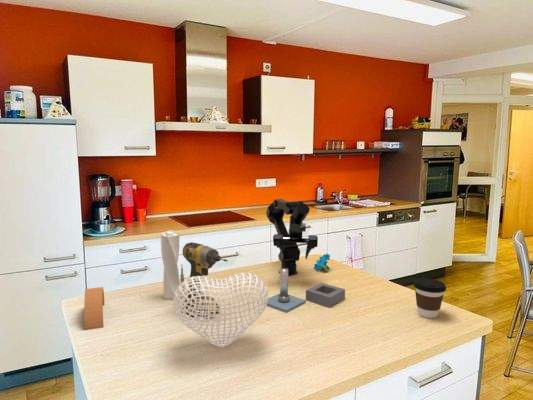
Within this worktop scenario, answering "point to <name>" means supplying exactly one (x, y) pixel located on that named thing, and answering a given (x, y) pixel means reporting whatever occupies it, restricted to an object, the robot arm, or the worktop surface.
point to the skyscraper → (171, 263)
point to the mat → (285, 307)
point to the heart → (219, 282)
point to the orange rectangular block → (94, 308)
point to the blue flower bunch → (322, 263)
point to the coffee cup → (429, 296)
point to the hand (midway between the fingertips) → (294, 258)
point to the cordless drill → (200, 268)
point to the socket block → (325, 294)
